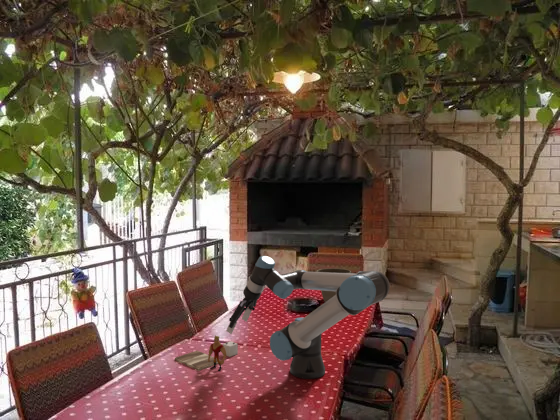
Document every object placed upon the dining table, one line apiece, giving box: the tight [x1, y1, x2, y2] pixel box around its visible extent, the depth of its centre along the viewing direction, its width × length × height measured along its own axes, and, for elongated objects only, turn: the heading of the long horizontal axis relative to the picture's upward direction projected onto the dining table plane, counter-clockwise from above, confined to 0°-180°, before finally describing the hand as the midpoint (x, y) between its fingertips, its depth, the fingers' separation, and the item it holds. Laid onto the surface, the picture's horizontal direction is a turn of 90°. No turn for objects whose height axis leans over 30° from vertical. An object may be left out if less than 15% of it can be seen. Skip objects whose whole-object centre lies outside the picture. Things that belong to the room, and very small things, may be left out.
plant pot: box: [315, 267, 352, 303], centre depth 316 cm, size 25×25×22 cm
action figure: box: [207, 335, 227, 372], centre depth 194 cm, size 10×4×15 cm, turn 61°
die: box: [222, 341, 239, 358], centre depth 212 cm, size 5×5×6 cm
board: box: [174, 350, 222, 372], centre depth 203 cm, size 18×13×1 cm
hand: (236, 325), depth 200 cm, fingers open, 13 cm apart
